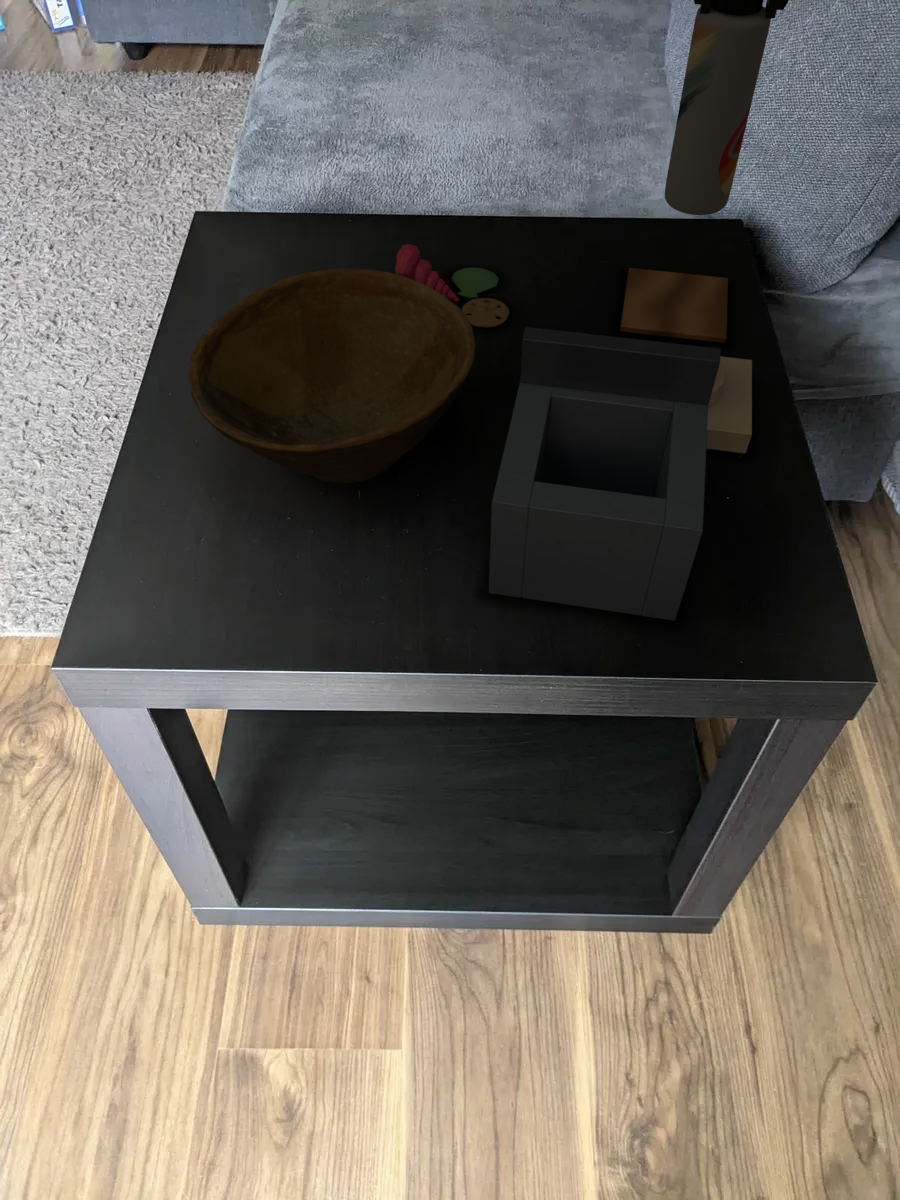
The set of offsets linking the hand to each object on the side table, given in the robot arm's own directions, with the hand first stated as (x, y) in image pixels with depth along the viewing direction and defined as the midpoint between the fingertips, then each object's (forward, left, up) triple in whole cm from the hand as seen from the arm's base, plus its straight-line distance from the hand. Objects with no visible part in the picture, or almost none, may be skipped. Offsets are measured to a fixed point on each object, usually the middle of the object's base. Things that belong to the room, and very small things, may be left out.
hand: (737, 10), depth 71 cm
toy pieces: (+22, +3, -27) cm, 35 cm away
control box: (-1, +15, -26) cm, 30 cm away
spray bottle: (0, 0, -15) cm, 15 cm away
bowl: (+27, +25, -27) cm, 45 cm away
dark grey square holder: (+5, +32, -26) cm, 42 cm away
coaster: (0, 0, -26) cm, 26 cm away
